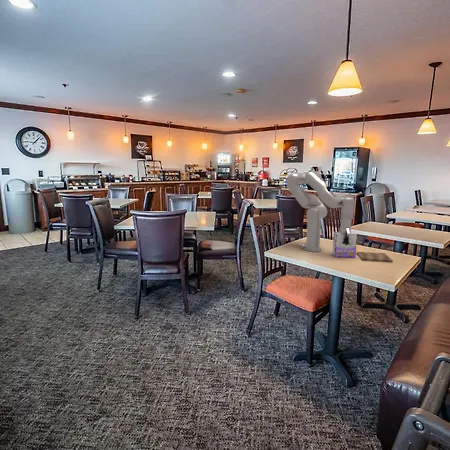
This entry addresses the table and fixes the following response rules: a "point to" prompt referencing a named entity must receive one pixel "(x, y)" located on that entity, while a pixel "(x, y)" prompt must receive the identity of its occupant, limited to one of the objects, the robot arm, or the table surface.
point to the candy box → (344, 245)
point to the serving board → (374, 257)
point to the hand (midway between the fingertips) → (344, 242)
